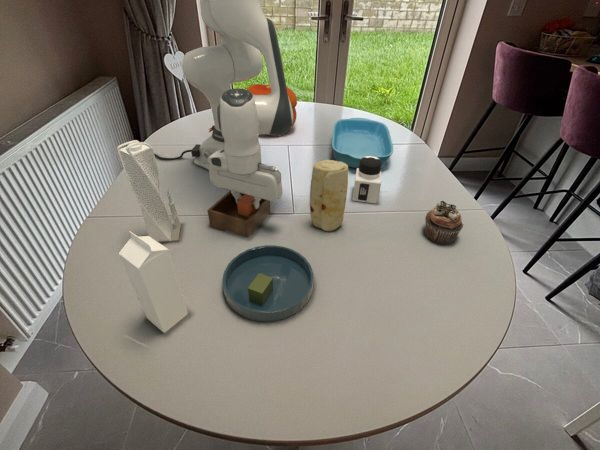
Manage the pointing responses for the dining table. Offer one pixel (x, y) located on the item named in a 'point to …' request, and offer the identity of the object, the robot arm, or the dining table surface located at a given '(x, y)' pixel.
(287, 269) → the bowl
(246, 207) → the orange block
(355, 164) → the casserole dish
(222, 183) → the robot arm
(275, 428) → the dining table surface
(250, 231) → the holder
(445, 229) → the cupcake
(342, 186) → the food model
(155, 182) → the skyscraper
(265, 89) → the pumpkin
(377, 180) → the container
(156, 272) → the milk
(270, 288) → the green cube
